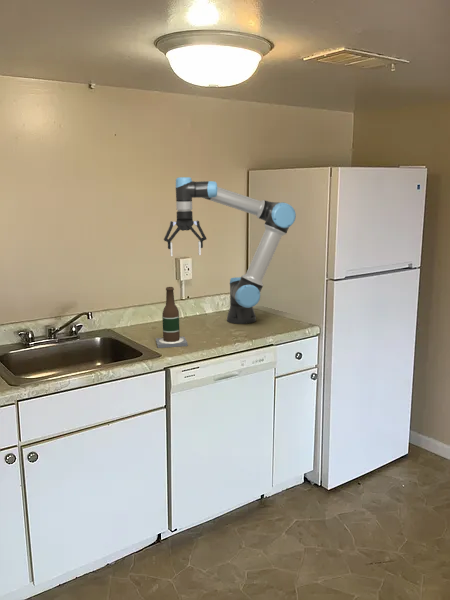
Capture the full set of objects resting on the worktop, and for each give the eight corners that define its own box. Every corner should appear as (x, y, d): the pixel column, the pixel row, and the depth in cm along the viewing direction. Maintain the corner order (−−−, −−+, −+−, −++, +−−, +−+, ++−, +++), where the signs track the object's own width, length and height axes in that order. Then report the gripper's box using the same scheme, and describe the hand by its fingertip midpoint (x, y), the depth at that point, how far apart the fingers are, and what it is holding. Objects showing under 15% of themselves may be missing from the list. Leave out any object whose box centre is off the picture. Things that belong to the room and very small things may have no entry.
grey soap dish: (184, 339, 255) (184, 336, 255) (187, 346, 245) (187, 342, 244) (156, 341, 253) (155, 337, 253) (157, 348, 242) (157, 344, 242)
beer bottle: (165, 343, 244) (164, 289, 239) (160, 339, 251) (158, 286, 246) (182, 341, 247) (181, 287, 242) (177, 336, 254) (175, 285, 249)
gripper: (209, 209, 268) (209, 253, 272) (157, 211, 263) (158, 255, 268) (211, 210, 261) (212, 255, 265) (158, 211, 256) (160, 257, 260)
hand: (185, 255), depth 266 cm, fingers open, 13 cm apart
